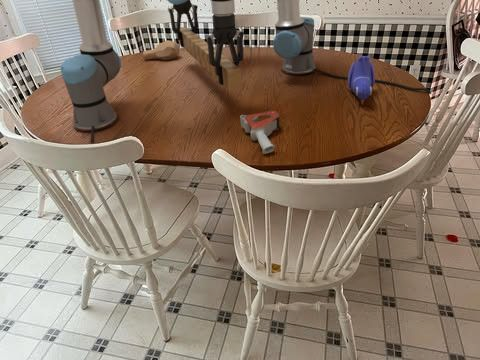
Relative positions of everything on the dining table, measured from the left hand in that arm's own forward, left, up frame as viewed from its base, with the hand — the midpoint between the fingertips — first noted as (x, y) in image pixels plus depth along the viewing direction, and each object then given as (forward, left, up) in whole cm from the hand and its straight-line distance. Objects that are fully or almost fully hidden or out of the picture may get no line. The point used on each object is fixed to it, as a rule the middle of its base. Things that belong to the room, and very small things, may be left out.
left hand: (227, 82), depth 131 cm
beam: (+24, +11, 0) cm, 26 cm away
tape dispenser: (-23, -11, -11) cm, 28 cm away
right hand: (+48, +21, +1) cm, 52 cm away
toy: (+5, -51, -11) cm, 52 cm away
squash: (+67, +39, -11) cm, 78 cm away
